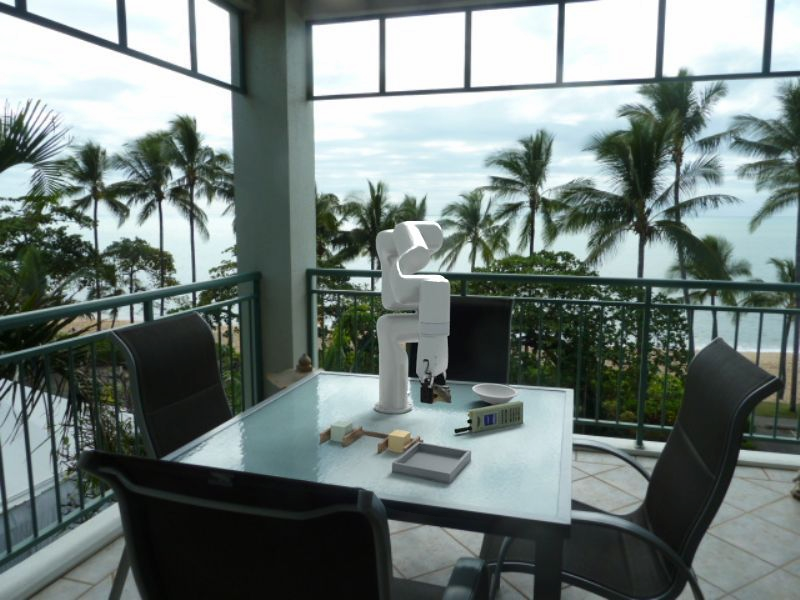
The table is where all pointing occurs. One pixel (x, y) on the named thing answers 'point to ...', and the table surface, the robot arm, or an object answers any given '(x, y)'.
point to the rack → (359, 432)
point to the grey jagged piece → (441, 393)
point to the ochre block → (398, 440)
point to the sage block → (340, 430)
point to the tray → (432, 462)
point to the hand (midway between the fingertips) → (433, 398)
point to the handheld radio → (493, 417)
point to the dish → (494, 393)
